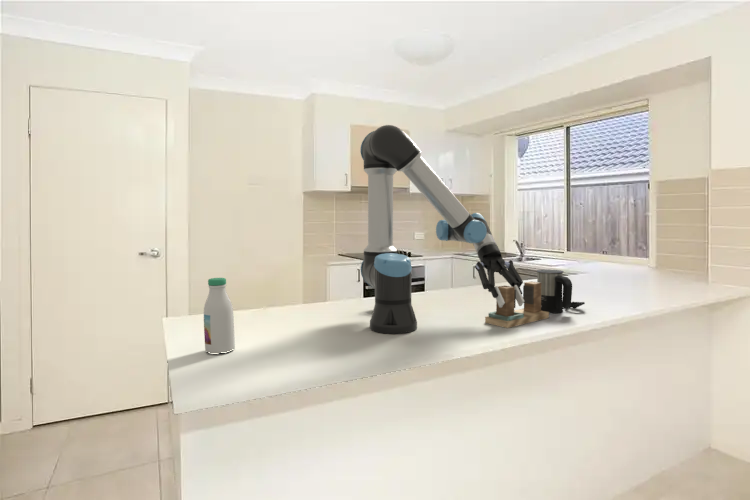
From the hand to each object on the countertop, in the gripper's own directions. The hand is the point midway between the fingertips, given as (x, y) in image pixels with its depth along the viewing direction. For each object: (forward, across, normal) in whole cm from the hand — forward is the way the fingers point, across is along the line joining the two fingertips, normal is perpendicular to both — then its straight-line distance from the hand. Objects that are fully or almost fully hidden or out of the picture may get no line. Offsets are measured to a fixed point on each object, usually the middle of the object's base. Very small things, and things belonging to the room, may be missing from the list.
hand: (512, 304), depth 146 cm
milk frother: (-5, -29, -15) cm, 33 cm away
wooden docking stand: (+1, -6, -9) cm, 11 cm away
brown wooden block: (+1, 0, -6) cm, 6 cm away
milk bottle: (+5, +89, -6) cm, 90 cm away
